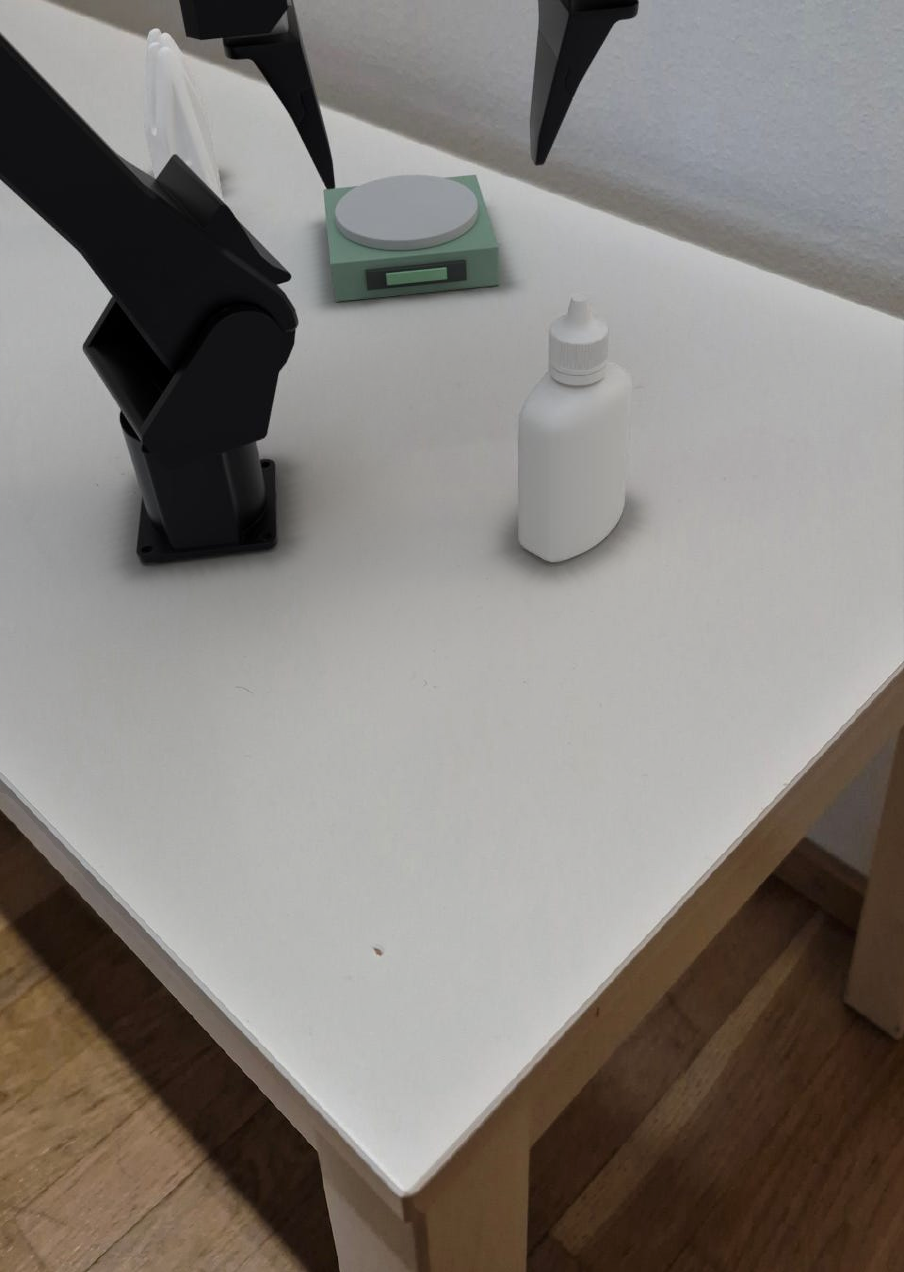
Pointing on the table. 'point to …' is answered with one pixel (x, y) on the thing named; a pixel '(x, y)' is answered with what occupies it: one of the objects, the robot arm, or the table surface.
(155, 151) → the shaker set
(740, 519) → the table surface
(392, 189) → the kitchen scale
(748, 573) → the table surface
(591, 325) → the eye dropper bottle
